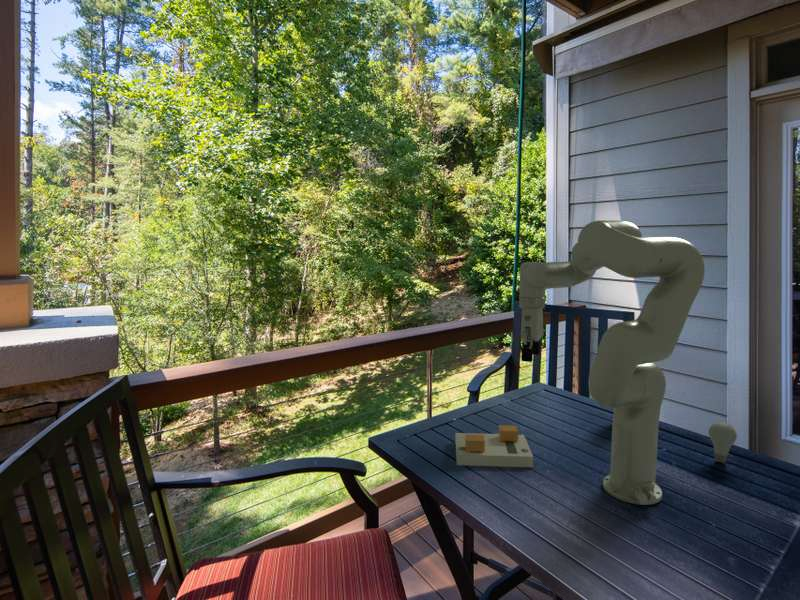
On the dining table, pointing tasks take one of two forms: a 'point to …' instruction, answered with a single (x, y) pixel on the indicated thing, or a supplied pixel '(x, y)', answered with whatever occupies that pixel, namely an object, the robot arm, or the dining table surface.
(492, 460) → the switch panel
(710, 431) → the lightbulb
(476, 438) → the left tab
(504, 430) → the right tab
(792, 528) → the dining table surface
